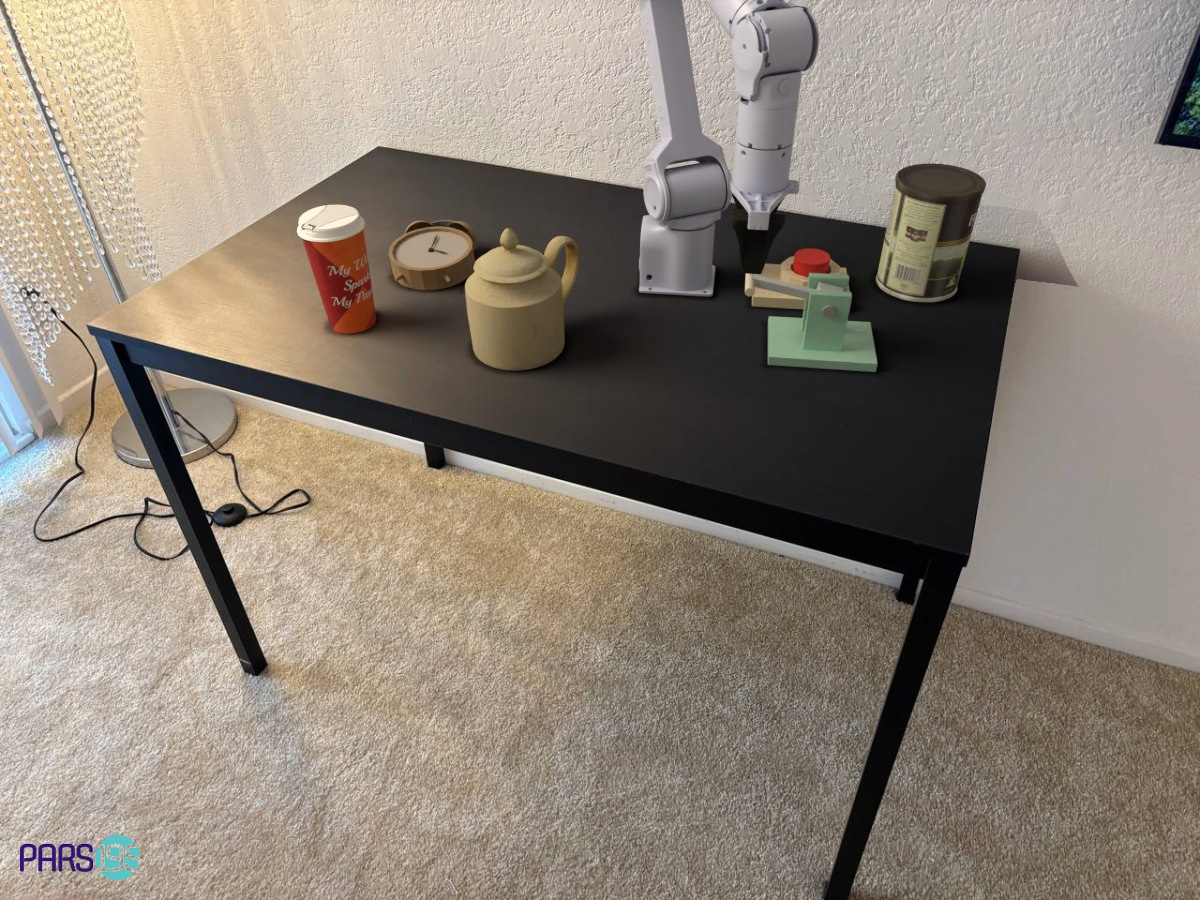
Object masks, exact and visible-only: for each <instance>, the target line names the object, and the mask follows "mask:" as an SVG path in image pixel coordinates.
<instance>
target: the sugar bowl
mask: <svg viewBox="0 0 1200 900" xmlns="http://www.w3.org/2000/svg"><path fill="white" fill-rule="evenodd" d="M518 243H519V238H518V236H517V233H515V232H514V231H513V229H512V228H509V227H506V228H505V229H504V230H503V231H502V233H501V234H500V239H499V244H500V246H497V247H495V248H492V249H490V250H489V251H487V252H486V253H485V254H482V255H481V256H480V257H478V258H477V260H475V265H474V267H473V268H474V270H473V272H472V273H471V275H470V276H469V277H467V278H466V281H465V283H464V293H465V302H466V303H465V304H466V312H467V320H468V325H469V332H470V338H471V344H472V350H473V353H474V356H475V357H476V359H478V360H479V361H480V362H481V363H483V364H485V365H486V366H488V367H491V368H493V369H497V370H503V371H512V372H516V371H517V372H518V371H526V370H533V369H536V368H540V367H543V366H545V365H547V364H549V363H551V362H552V361H555V360H556V358H558V357H559V356H560V354H562V352H563V350H564V347H565V338H566V337H565V309H564V308H565V307H564V304H565V303H566V302H567V300H568V299H569V297H570V295H571V293H572V290H573V289H574V287H575V284H576V281H577V279H578V274H579V272H580V271H579V270H580V263H581V258H580V256H581V255H580V250H579V247H578V245H577V243H576V241H575V240H574V239H572V238H571V237H569V236H565V235H558V236H555V237H553V238H552V239H551V240H550V241H549V242H548V244H547V246H546V248H545V251H544V252H543V253H544V254H542V253H541V251H539V250H537V249H533V248H532V247H529V246H527V245H521V244H518ZM564 248H565V254H566V257H565V258H566V260H565V267H564V271H563V275H562V277H561V276H560V274H559V273H558V272H557V271H556V265H557V261H558V258H559V255H560V253H561V251H562V249H564Z"/></svg>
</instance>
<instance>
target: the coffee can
mask: <svg viewBox="0 0 1200 900" xmlns="http://www.w3.org/2000/svg"><path fill="white" fill-rule="evenodd" d="M894 182H895V185H894V189H893V193H892V194H893V195H892V199H891V205H890V209H889V215H888V219H887V224H886V228H885V235H884V238H883V245H882V250H881V254H880V259H879V264H878V268H877V274H876V276H875V282H876V284H877V286H878V287H879V289H880V290H881V291H883V292H884V293H886V294H887V295H889V296H891V297H895V298H897V299H900V300H903V301H906V302H907V301H908V302H913V303H921V304H923V303H938V302H943V301H946V300H948V299H951V298H952V297H953V296H954V295H956V293H957V291H958V285H959V282H960V278H961V274H962V271H963V267H964V262H965V259H966V255H967V252H968V248H969V245H970V240H971V237H972V233H973V230H974V227H975V226H974V225H975V223H976V219H977V217H978V216H977V215H978V212H979V208H980V205H981V201H982V197H983V194H984V192H985V190H986V187H987V183H986V180H985V178H984V177H982V176H981V175H980V174H979V173H978V172H974V171H972V170H970V169H967V168H964V167H961V166H957V165H952V164H945V163H931V162H928V163H917V164H912V165H908V166H904V167H902V168H901V169H899V170H898V171H897V172H896V174H895V178H894Z"/></svg>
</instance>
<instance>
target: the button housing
mask: <svg viewBox="0 0 1200 900" xmlns="http://www.w3.org/2000/svg"><path fill="white" fill-rule="evenodd" d="M794 257H795V255H793V256H789V257H788V258H786V259H785V260H783V261H782V262H781V263H779V264H778V263H765V266H764V268H763V271H762V273H761V274H756V275H760V276H764V277H768V278H772V279H776V280H780V281H784V282H788V283H792V284H796V285H800V286H804V287H807V285H808V278H809V277H804V276H801V275H798V274H796V273H794V272H793V264H794ZM828 274H840V275H848V271H847V267H841V266H840V265H839V264H838V263H837V262H835V261H834V260H833V259H832V258H830V264H829V270H828ZM849 284H850V283H849ZM849 284H848V289H847V292H851V291H850V285H849ZM804 305H805V299H802V298H798V297H794V296H790V295H786V294H782V293H778V292H774V291H770V290H766V289H762V288H758V287H755V293H754V295H753V296H751V307H757V308H772V309H773V308H775V309H790V310H792V309H793V310H804ZM851 305H852V304H851ZM851 305H850V307H851ZM850 311H851V309H850V310H849V312H850Z"/></svg>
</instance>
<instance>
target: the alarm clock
mask: <svg viewBox="0 0 1200 900" xmlns="http://www.w3.org/2000/svg"><path fill="white" fill-rule="evenodd" d="M477 245H478V236H477V233H476V231H475V229H474V228H473V226H471V224H469V223H467V222H465V221H463V220H462V221H461V220H451V219H439V220H435V221H431V222H429V221H428V220H424V219H419V220H415V221H412V222H411V223H410V224H408V226H407V227H406V228H405V231H404V234H402V235H401V236H399V237H397V238H396V239H394V241H393V242H392V243H391V245H389V248H388V257H389V260H390V265H391V270H392V275H393V277H394V279H393V280H394V281H395V282H397V283H399V284H400V285H402V286H403V287H406V288H409V289H411V290H420V291H436V290H437V291H439V290H443V289H446V288H451V287H453V286H455V285H458V284H460V283H462V282H464V281H465V280H467V279H468V278H469V277H470V276H471V275H472V274H473V273H474V268H473V267H474V265H475V262H476V258H475V254H474V253H475V252H474V251H475V249H476V248H477Z"/></svg>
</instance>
